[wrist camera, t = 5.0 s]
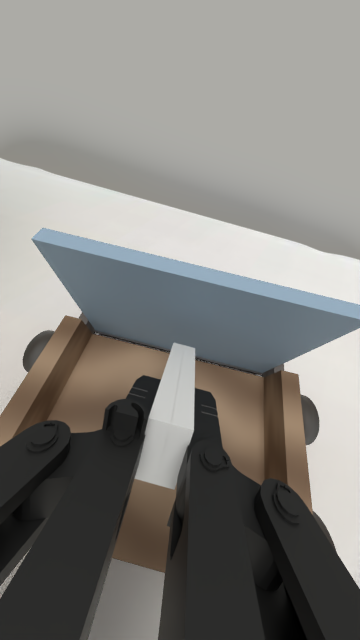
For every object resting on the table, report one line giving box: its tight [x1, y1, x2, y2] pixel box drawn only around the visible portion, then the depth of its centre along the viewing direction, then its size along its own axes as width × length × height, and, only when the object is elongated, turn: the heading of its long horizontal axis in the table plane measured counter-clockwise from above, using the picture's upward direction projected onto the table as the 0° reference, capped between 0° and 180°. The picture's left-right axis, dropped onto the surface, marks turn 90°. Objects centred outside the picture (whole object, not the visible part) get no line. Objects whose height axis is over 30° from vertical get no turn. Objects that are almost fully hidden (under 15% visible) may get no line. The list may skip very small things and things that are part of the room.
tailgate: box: [32, 228, 360, 375], centre depth 15 cm, size 1×18×12 cm, turn 77°
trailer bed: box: [0, 312, 337, 573], centre depth 15 cm, size 16×24×4 cm, turn 77°
